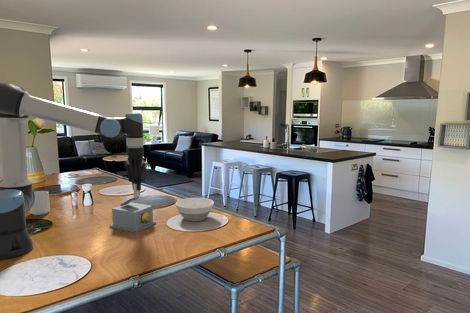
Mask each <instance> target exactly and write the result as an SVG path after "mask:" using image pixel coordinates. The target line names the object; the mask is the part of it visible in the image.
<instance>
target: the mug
mask: <svg viewBox="0 0 470 313" xmlns="http://www.w3.org/2000/svg"><path fill="white" fill-rule="evenodd" d="M34 194H35V202H34V204H33V206H32V207H31V209H30V210H29V211H30V213H31V215H32V216H43V215H47V214H48V213H49V212H50V210H51V208H50V195H49V191H48V190H36V191H34Z"/></svg>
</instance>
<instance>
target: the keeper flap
mask: <svg viewBox="0 0 470 313" xmlns="http://www.w3.org/2000/svg"><path fill="white" fill-rule="evenodd" d="M139 198H140V197H137V198H135V197H134V196H133V197H132V198H130V199H128V200H126V201H123V203H121V204H119V206H124V205H127V204H129V203H131V202H132V203H134V202H135V201H136V200H138V199H139Z"/></svg>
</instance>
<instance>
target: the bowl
mask: <svg viewBox="0 0 470 313" xmlns="http://www.w3.org/2000/svg"><path fill="white" fill-rule="evenodd" d="M214 204H215V202H214V200H213V199H210V198H206V197H186V198H181V199H179V200H177V201H176V202H175V206H176V208H177V211H178V212H179V214H180V215H181V217H182V218H183V219H184V220H185V221H187V222H201V221H203V220H204V221H205V220H206V219H207V217H208V216H209V214H210V213H211V211H212V209H213V207H214Z"/></svg>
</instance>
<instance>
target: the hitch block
mask: <svg viewBox="0 0 470 313" xmlns="http://www.w3.org/2000/svg"><path fill="white" fill-rule="evenodd" d="M153 207H154V206H153V205H150V204H145V203H138V202H131V203H129V204H127V205H124V206H120V205H119V206H115V207H112V209H111V214H112V216H111V217H112V224H109V228H111V229H116V230H121V231H125V232H130V233H134V232H135V233H136V234H137V233H139V232H141V231H143V230H146V229H147V228H149V227H152V226H154V225H156V224H157V221H155V220H154V215H153V214H154V208H153ZM143 212H149V213H150V215H151V218H150V221H149V222H148V223H142V222H141V214H142V213H143Z"/></svg>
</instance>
